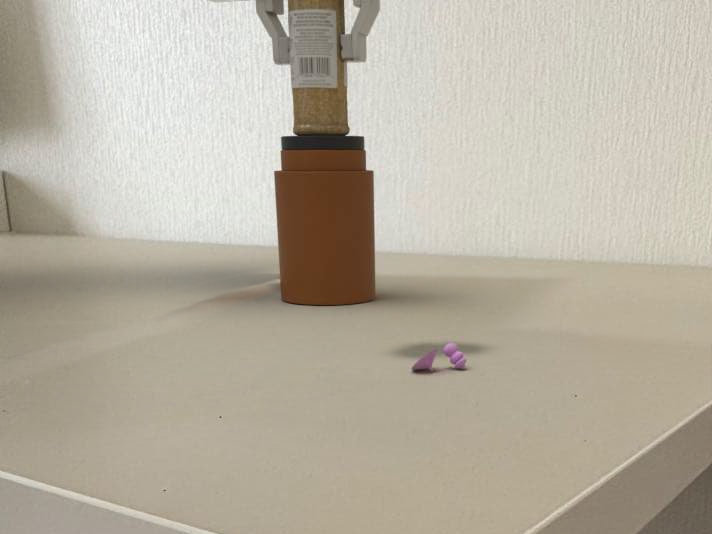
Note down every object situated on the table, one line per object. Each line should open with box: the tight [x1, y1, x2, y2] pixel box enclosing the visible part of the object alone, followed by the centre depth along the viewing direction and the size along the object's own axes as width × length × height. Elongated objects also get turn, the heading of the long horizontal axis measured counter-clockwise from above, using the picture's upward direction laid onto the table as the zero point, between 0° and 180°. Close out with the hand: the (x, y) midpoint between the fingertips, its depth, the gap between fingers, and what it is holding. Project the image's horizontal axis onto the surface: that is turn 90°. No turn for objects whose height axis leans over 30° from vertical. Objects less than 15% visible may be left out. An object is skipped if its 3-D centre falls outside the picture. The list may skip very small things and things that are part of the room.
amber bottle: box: [273, 135, 377, 306], centre depth 72 cm, size 8×8×12 cm
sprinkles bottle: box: [287, 0, 351, 136], centre depth 67 cm, size 5×5×14 cm
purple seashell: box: [411, 342, 468, 373], centre depth 49 cm, size 3×2×2 cm
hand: (319, 63), depth 68 cm, fingers closed on sprinkles bottle, 4 cm apart
